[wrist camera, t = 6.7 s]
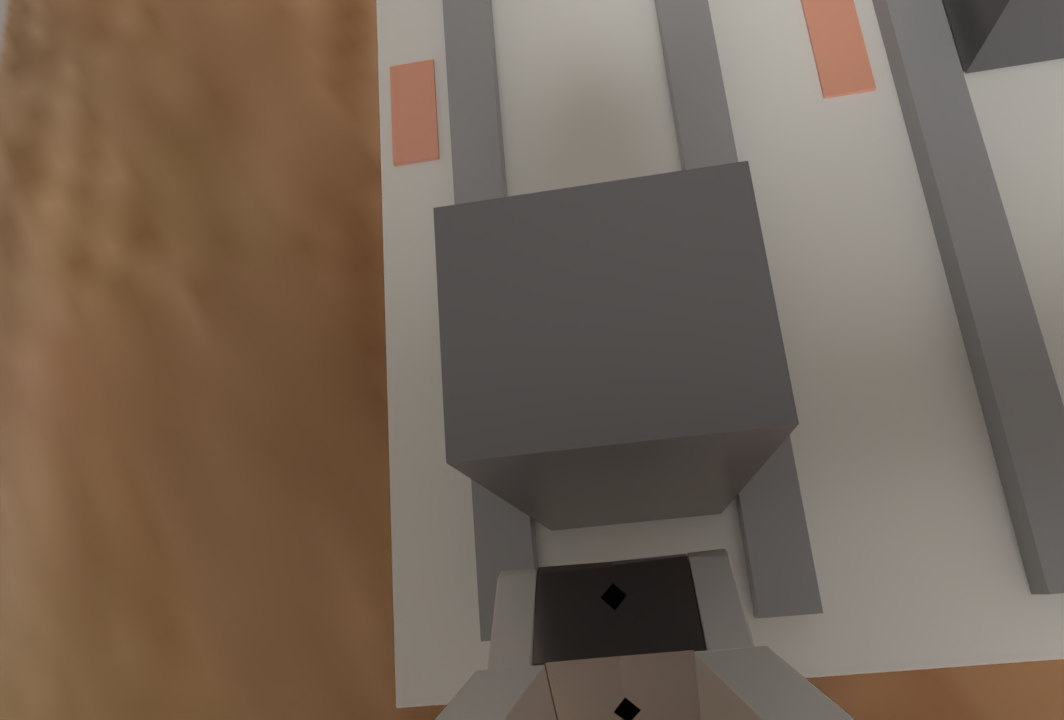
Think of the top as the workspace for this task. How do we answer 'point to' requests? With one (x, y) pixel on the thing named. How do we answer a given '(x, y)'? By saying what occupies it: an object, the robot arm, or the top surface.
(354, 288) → the top surface
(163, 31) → the top surface
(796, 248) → the white board with strips
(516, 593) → the robot arm
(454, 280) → the switch tab
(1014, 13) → the switch tab
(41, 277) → the top surface
